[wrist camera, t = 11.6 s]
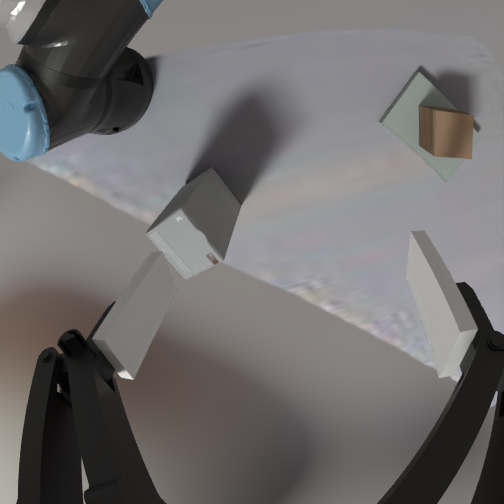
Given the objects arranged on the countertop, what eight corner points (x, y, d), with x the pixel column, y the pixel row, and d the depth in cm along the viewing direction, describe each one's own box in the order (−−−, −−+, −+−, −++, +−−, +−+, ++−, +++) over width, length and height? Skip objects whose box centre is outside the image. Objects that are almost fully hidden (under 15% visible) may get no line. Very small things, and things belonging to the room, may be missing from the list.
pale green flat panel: (379, 121, 36) (389, 127, 32) (415, 71, 31) (430, 71, 26) (442, 178, 39) (456, 191, 34) (476, 134, 33) (494, 142, 29)
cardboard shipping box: (418, 145, 35) (434, 156, 31) (418, 105, 32) (435, 110, 27) (452, 147, 34) (471, 159, 29) (453, 109, 31) (473, 115, 26)
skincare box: (183, 185, 47) (137, 233, 34) (217, 162, 44) (178, 204, 31) (213, 225, 50) (180, 284, 37) (247, 206, 47) (224, 263, 34)
